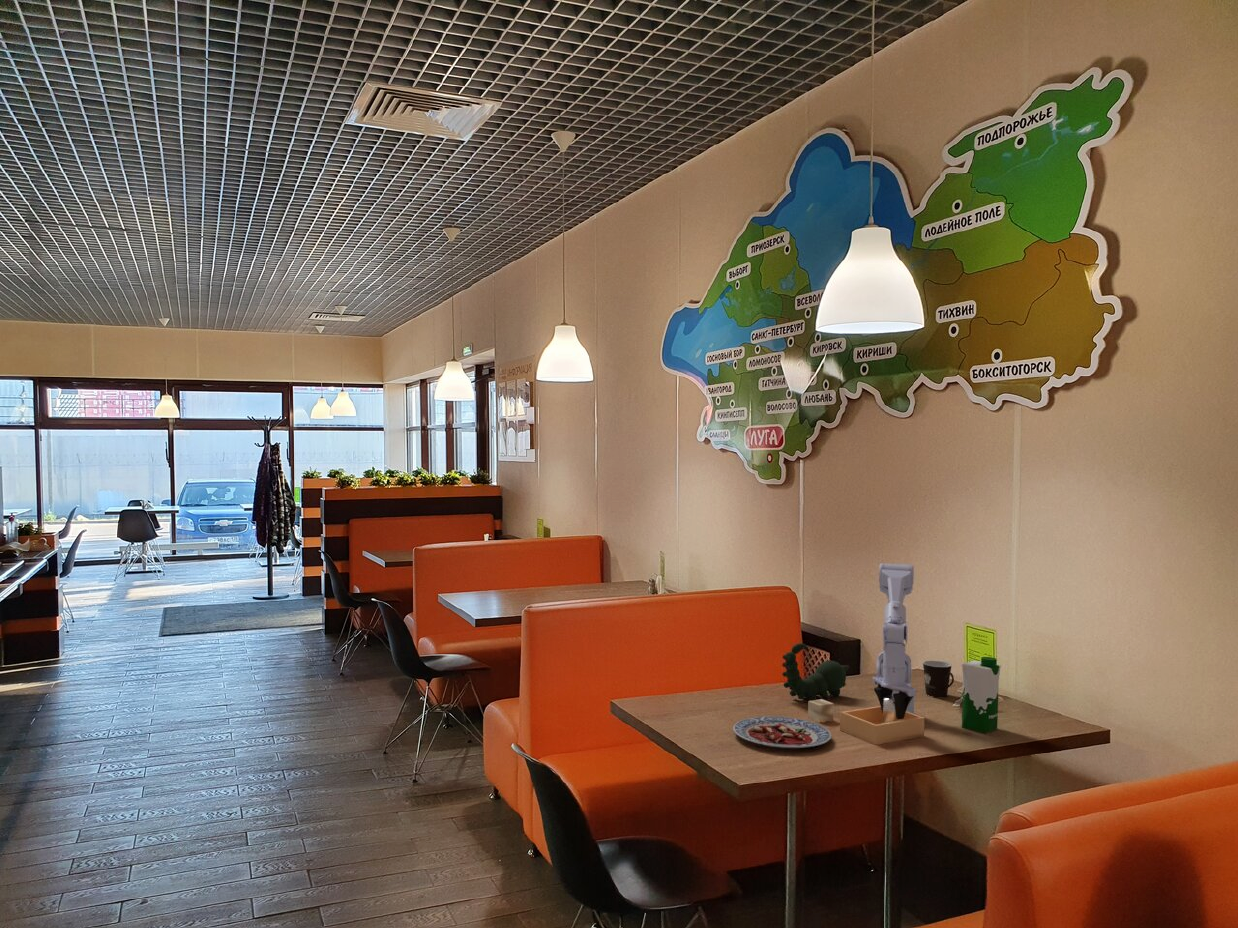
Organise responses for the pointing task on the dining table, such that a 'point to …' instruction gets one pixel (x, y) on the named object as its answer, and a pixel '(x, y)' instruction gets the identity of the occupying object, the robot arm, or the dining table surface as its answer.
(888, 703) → the steel cylinder
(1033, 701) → the dining table surface
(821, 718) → the beech cube
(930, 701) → the dining table surface
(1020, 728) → the dining table surface
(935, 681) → the coffee mug
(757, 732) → the ceramic plate
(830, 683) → the toy figurine
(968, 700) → the milk carton
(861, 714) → the light wood open box
